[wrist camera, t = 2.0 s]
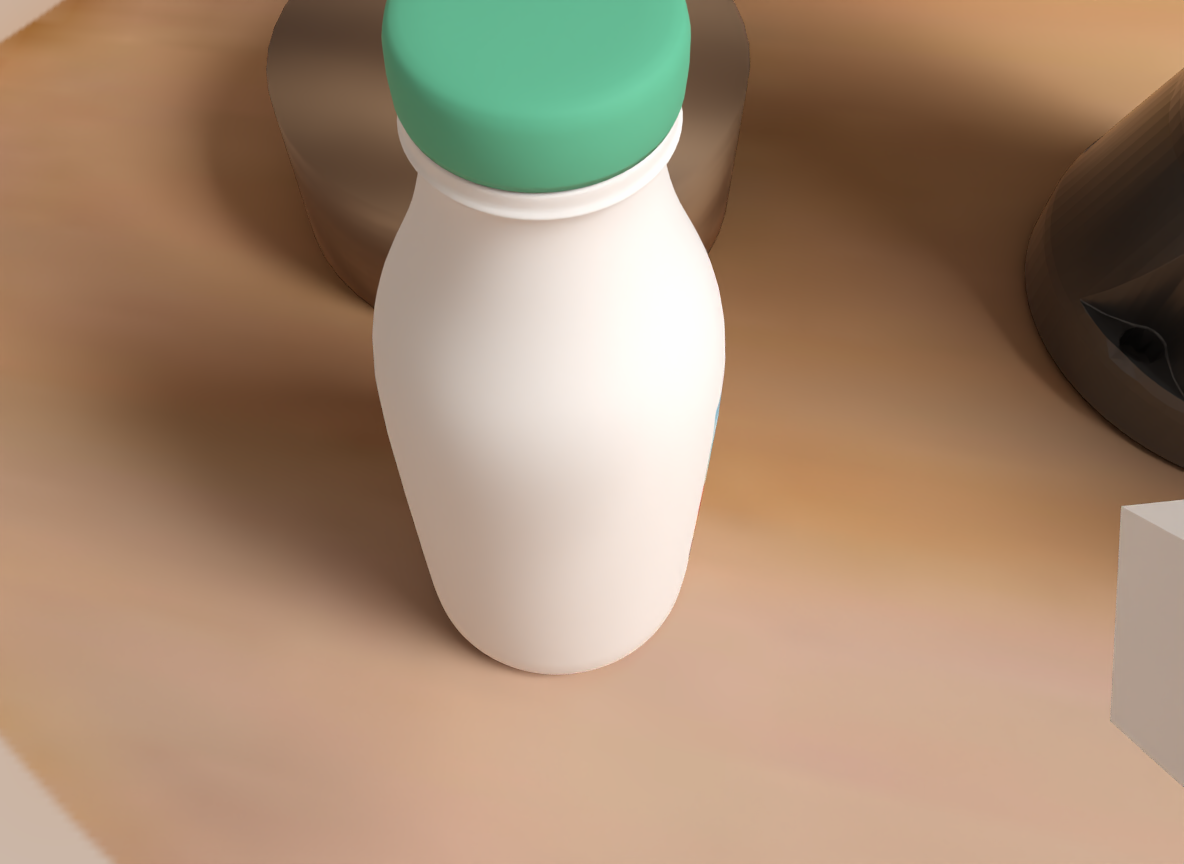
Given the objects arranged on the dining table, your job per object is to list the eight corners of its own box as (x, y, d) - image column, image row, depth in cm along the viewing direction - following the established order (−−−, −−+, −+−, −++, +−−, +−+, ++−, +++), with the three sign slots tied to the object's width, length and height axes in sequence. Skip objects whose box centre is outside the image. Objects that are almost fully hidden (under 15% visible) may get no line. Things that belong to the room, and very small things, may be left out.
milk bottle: (679, 693, 31) (808, 223, 13) (413, 670, 31) (200, 180, 14) (689, 459, 34) (799, -140, 17) (453, 440, 35) (327, -168, 17)
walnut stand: (389, 6, 45) (364, -129, 40) (759, 70, 44) (783, -62, 38) (239, 296, 38) (184, 174, 32) (683, 388, 36) (701, 275, 31)
